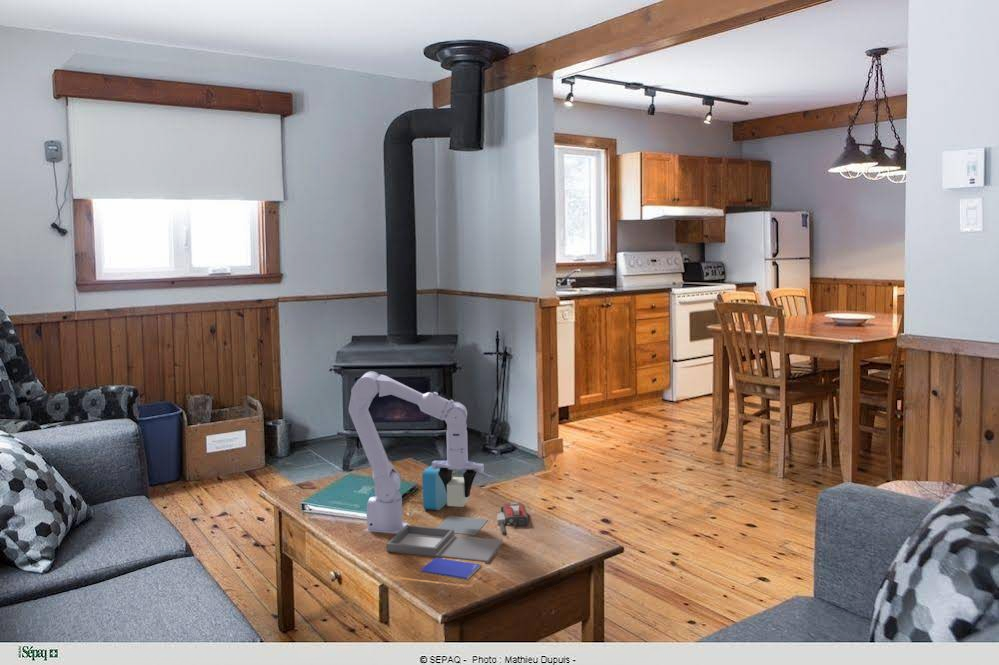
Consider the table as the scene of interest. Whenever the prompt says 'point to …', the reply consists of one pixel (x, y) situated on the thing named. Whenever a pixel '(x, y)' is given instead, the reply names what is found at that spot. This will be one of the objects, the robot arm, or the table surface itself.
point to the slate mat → (463, 525)
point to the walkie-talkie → (512, 515)
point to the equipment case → (442, 544)
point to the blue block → (433, 490)
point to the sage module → (456, 492)
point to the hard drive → (451, 568)
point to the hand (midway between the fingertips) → (458, 495)
